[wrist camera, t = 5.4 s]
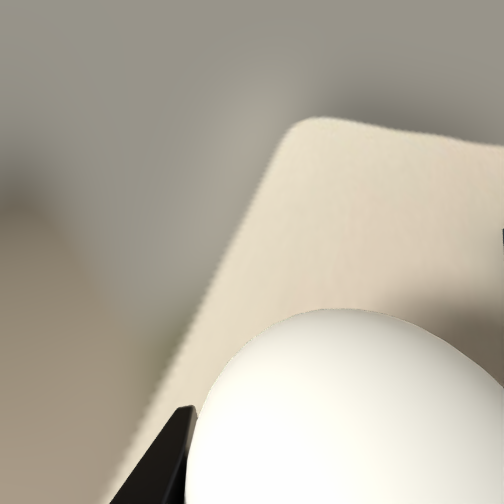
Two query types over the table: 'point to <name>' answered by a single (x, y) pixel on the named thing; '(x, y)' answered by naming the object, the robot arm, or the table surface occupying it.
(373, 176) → the table surface
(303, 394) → the lightbulb
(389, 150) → the table surface
